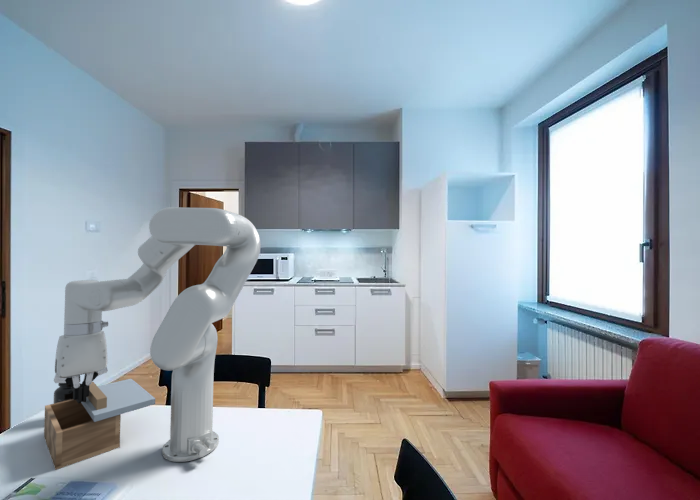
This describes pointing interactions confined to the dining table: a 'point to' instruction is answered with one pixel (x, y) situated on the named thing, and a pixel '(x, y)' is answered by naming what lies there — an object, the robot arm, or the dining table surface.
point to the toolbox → (77, 433)
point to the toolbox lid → (116, 399)
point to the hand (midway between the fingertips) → (81, 400)
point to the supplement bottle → (63, 392)
